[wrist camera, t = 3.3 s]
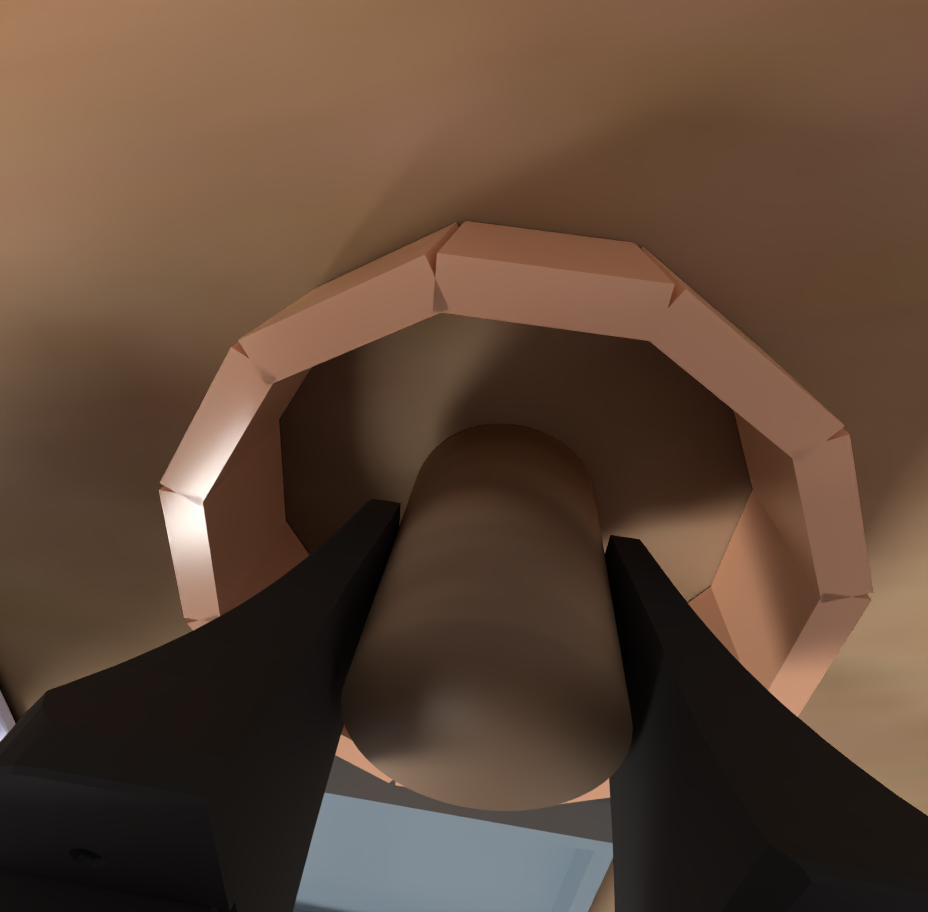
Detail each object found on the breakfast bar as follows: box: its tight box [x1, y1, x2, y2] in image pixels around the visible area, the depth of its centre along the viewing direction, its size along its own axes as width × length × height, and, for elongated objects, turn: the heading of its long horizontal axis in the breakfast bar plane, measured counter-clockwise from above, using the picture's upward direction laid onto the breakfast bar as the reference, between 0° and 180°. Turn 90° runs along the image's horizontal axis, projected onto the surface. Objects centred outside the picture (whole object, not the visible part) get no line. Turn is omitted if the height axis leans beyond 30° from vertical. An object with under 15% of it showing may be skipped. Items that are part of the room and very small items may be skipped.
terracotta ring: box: [159, 221, 873, 804], centre depth 12 cm, size 13×13×4 cm
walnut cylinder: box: [341, 424, 633, 811], centre depth 11 cm, size 4×4×6 cm
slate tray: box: [293, 755, 613, 912], centre depth 21 cm, size 16×12×2 cm
